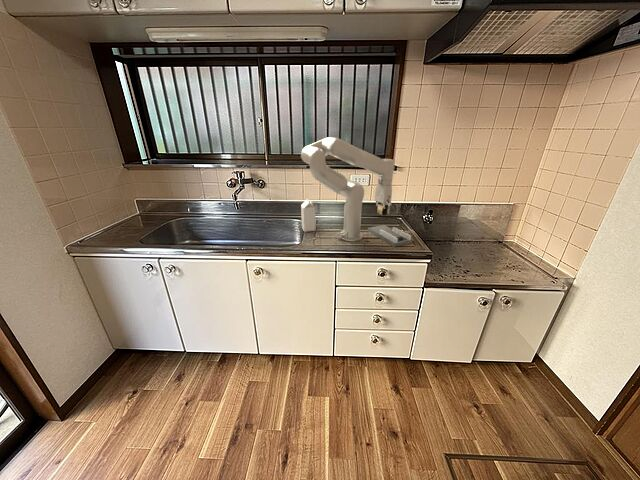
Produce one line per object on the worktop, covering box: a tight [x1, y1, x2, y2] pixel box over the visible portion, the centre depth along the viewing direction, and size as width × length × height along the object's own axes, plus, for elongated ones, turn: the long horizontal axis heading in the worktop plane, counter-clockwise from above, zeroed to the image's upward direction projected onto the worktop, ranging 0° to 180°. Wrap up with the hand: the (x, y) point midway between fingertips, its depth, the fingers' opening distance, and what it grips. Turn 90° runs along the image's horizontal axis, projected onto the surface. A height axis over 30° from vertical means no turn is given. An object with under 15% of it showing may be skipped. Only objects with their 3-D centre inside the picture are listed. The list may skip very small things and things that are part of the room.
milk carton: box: [300, 198, 316, 233], centre depth 155 cm, size 7×7×19 cm
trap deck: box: [367, 224, 413, 248], centre depth 147 cm, size 12×25×4 cm, turn 24°
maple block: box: [376, 203, 391, 216], centre depth 149 cm, size 5×5×5 cm
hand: (381, 213), depth 149 cm, fingers closed on maple block, 5 cm apart
